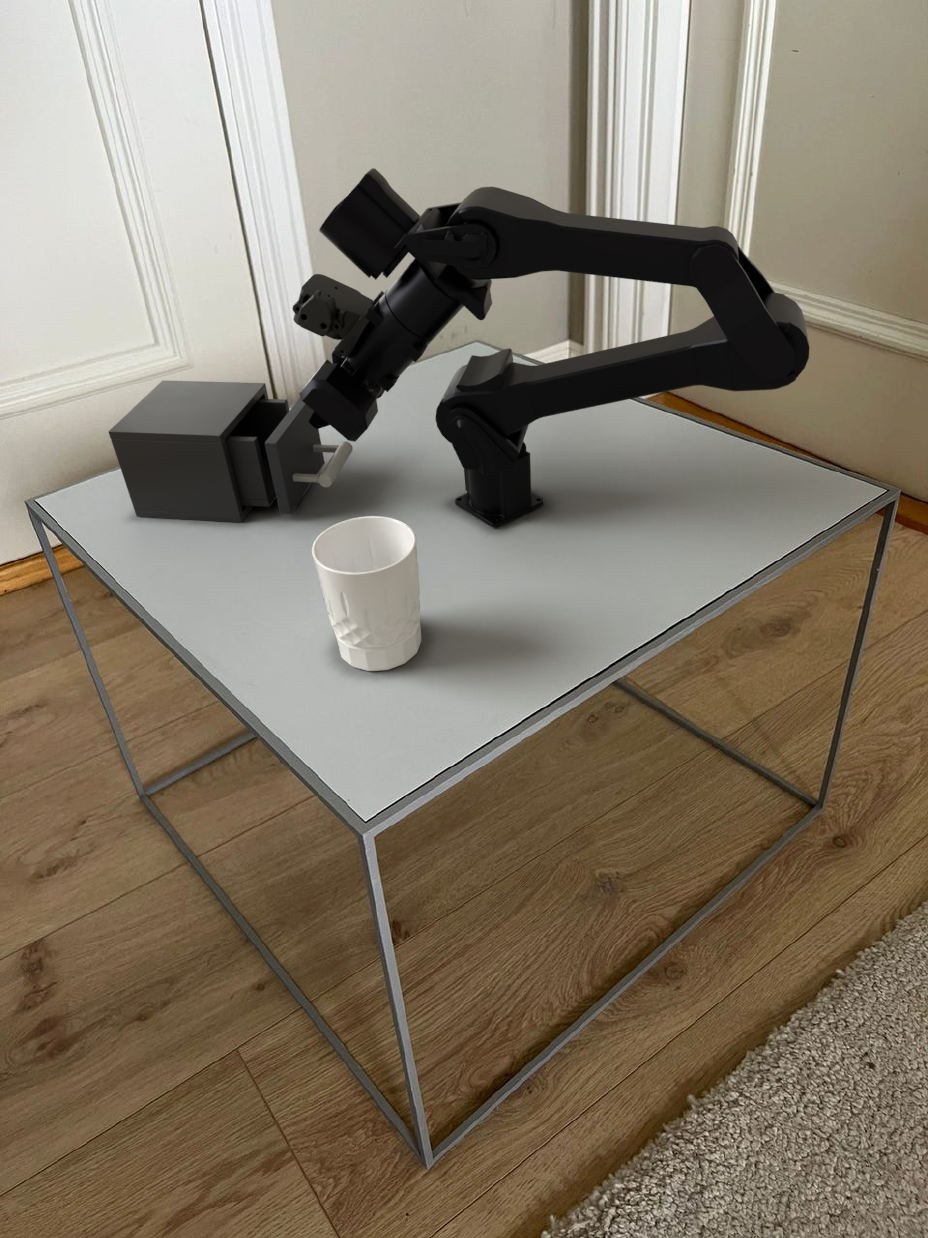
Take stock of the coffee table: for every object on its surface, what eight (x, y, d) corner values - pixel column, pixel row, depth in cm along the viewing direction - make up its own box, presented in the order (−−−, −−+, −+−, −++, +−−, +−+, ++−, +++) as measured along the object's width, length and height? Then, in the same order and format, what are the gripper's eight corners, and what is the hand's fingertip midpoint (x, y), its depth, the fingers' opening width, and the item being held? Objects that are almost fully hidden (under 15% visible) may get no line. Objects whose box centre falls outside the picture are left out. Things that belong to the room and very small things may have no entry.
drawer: (361, 464, 100) (351, 395, 95) (330, 516, 92) (317, 445, 87) (233, 458, 103) (217, 392, 98) (193, 509, 95) (173, 439, 90)
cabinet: (282, 465, 103) (265, 382, 97) (241, 522, 94) (219, 435, 88) (185, 461, 105) (162, 380, 99) (136, 516, 96) (108, 431, 90)
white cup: (415, 681, 74) (401, 576, 67) (319, 673, 75) (297, 570, 69) (437, 618, 80) (426, 518, 73) (348, 612, 81) (330, 513, 75)
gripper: (370, 215, 88) (281, 329, 97) (303, 285, 73) (206, 411, 82) (459, 300, 91) (365, 403, 100) (411, 383, 77) (306, 493, 86)
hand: (313, 424), depth 92 cm, fingers closed
